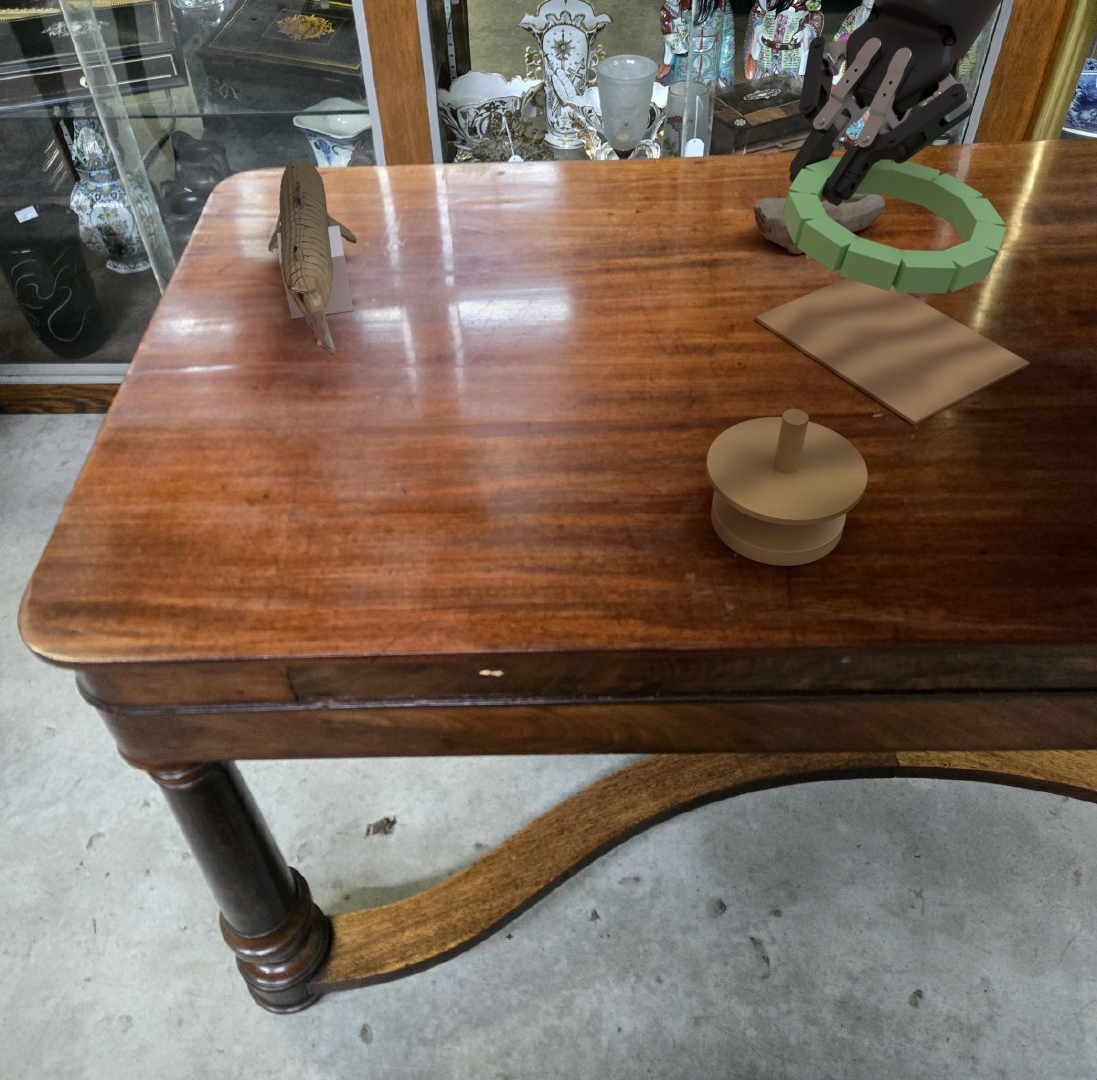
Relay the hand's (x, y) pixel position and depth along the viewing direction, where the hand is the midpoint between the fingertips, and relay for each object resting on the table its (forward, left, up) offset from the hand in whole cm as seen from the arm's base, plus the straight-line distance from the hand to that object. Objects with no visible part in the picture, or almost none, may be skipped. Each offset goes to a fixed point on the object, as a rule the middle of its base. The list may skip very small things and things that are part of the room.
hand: (813, 191), depth 75 cm
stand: (-10, +9, -20) cm, 24 cm away
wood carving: (+38, +25, -20) cm, 50 cm away
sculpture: (+21, -25, -20) cm, 39 cm away
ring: (-6, -2, 0) cm, 6 cm away
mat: (+2, -16, -20) cm, 26 cm away
